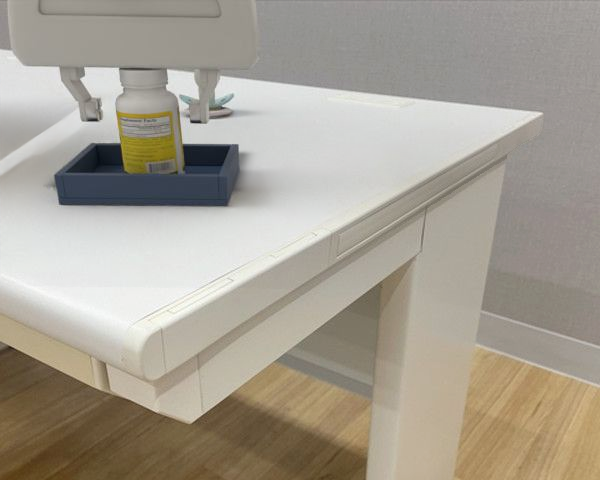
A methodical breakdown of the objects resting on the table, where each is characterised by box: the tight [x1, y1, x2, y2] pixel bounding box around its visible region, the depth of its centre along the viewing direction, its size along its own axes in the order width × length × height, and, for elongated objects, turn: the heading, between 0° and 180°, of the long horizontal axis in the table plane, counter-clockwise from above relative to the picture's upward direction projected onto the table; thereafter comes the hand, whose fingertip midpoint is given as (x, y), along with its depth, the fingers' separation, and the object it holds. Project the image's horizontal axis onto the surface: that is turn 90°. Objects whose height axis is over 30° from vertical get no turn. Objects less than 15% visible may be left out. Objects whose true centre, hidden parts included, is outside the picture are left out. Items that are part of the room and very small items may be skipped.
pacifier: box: [178, 69, 235, 117], centre depth 84 cm, size 7×6×6 cm
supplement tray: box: [53, 142, 240, 207], centre depth 58 cm, size 14×10×3 cm
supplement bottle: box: [114, 68, 185, 174], centre depth 56 cm, size 5×5×10 cm
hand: (146, 121), depth 56 cm, fingers open, 8 cm apart
